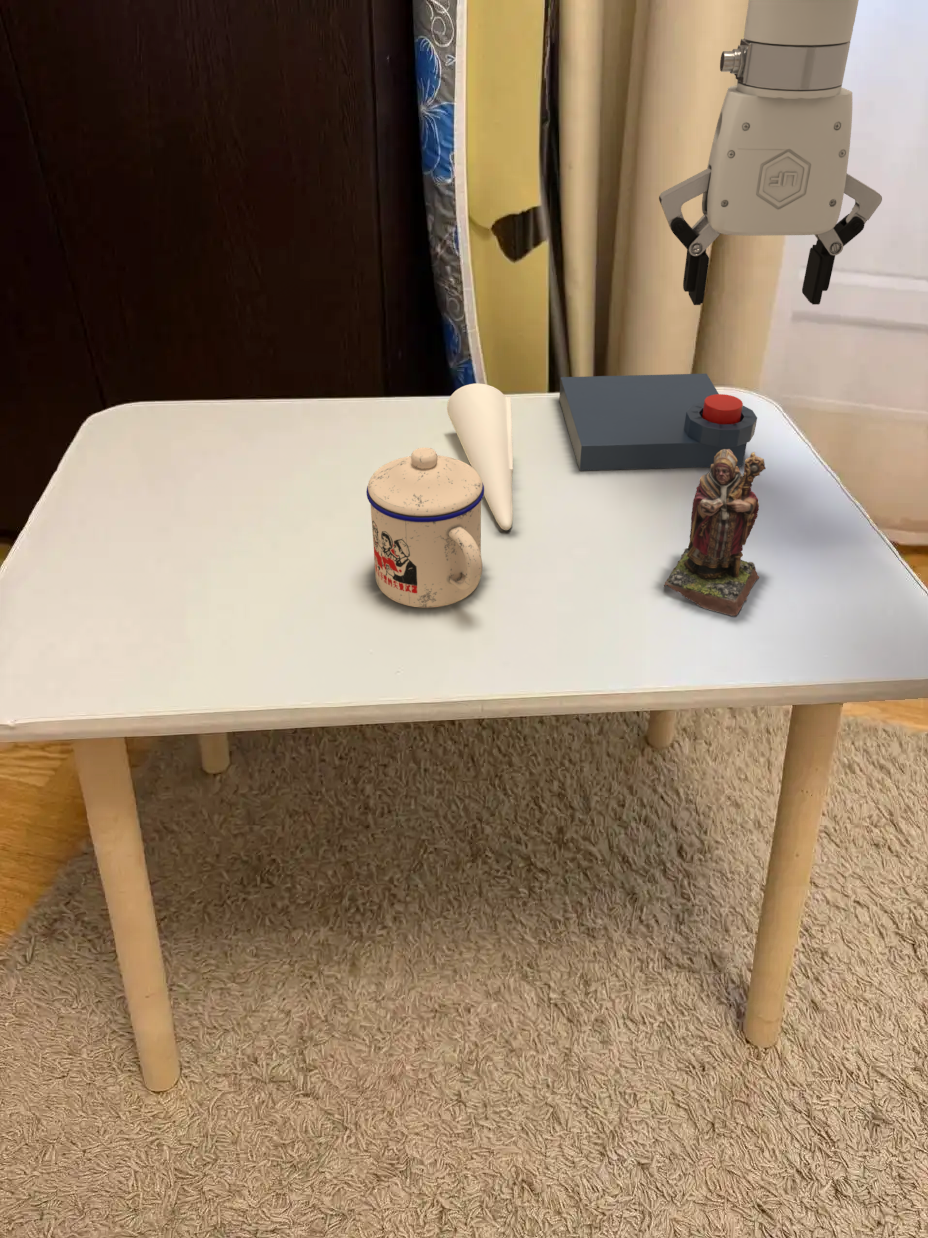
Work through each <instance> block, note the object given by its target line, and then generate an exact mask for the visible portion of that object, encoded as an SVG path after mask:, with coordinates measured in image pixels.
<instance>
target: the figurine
mask: <svg viewBox="0 0 928 1238" xmlns="http://www.w3.org/2000/svg"><path fill="white" fill-rule="evenodd" d="M736 465H737V458H736V457H735V455H734V454H733V452H732V451H731V450H730V449H728V450H726V449H723V450H720V451H719V452H718V453H717V454H716V456H714V464H711V466H710V467H709V472H708V473H706V474H703V475H701V476H700V478H699V482H698V483H699V484H698V486H696V490H695V494H694V497H693V500H692V509H691V515H690V516H691V517H690V530H689V531H690V533H689V543H688V546H687V547H686V548H684V550H683V553H682V554H680V555H681V557H680V559H679V560H678V561H677V564H676V566H675V567H674V568H673V569H672V571H671V572H670V574H669V577H668V578H667V579H666V581H664V584H663V587H664V588H666V586H668V588H670V589H671V590H674V592H676V593H680V595H681V596H684V598H685V599H687V600H689V601H690V602H693V603H695V605H697V606H699V607H700V608H702V609H705V610H710V611H712V612H717V613H721V614H725V615H728V616H731V617H737V616H738V614H739V612H740V611H741V609H742V608H743V605H744V604H745V601H748V596H749V594H750V592H751V590H752V588H753V586H754V584H755V583H756V582H757V580H759V579H760V576H759V575H758V572H757V569H756V564H755V563H754V562H753V561H746V560H743V559H742V558H743V556H744V554H743V551H744V546H745V545H746V543H747V540H748V538H749V537H750V535H751V532H752V529H753V528H754V526H755V524H756V520H757V519H758V514H759V511H760V503H759V498H758V496H757V495H756V493H755V492H754V491H752V486H753V483H754V481H755V478H756V477H759V476H761V473H762V472H763V471H764V470H766V468H767V467H766V466H765V465H766V464H765V459H764V458H763V457H761V456H757V455H756V453H755V451H753V452H751V453H750V455H749V457H747V458H746V459H744V464H743V474H742V473H741V470H740V468H739V466H736Z"/></svg>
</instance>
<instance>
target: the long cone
mask: <svg viewBox="0 0 928 1238" xmlns="http://www.w3.org/2000/svg"><path fill="white" fill-rule="evenodd" d="M446 412H447V415H448V417H449V421H450V422H451V424H452V427H453V429H454V432H455V433H456V435H457V437H458V440H459V442H460V444H461V446H462V449H463V452H464V453H465V455H466V457H467V460H468V462H469V463H470V464H469V465H470V466H471V467H472V468H473V469H475V470H476V472H477V473H478V474H479V476H480V477H481V480H482V482H483V485H484V495H483V497H484V498H485V501H486V502H487V505H488V507H489V509H490V511H491V513H492V515H493V518H494V519H495V521H496V523H497V524H498V526H499V528H500V529H502V530H504V531H508V530H510V529H511V528H512V525H513V520H514V507H513V504H514V503H513V481H512V480H513V473H514V452H513V451H514V449H513V417H512V416H513V415H512V414H513V413H512V396H507V395H505V394H504V393H503V392H502V391H501V390H500V389H498V388H496V387H495V386H492V385H489V384H486V383H469V384H466V385H463V386H461V387H459V388H457V389H456V390H455V391H454V392H453V393H452V394H451V395H450V397H449V398H448V401H447V404H446Z"/></svg>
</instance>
